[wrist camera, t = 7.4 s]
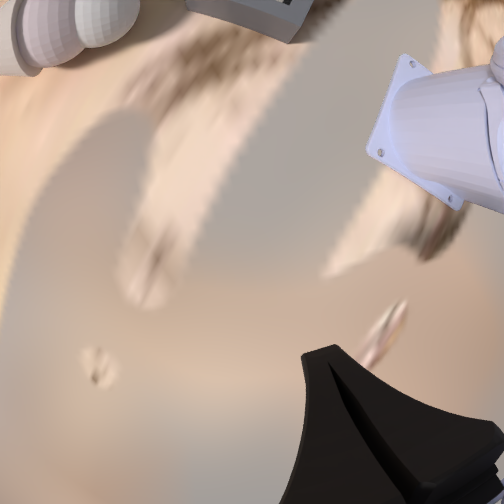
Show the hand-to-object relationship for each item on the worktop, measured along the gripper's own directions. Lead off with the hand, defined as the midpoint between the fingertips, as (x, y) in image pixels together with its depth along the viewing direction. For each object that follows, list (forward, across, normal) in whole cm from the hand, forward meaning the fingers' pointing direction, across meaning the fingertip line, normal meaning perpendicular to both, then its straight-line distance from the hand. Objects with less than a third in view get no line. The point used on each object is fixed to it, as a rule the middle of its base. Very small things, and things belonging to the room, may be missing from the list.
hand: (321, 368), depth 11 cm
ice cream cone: (+10, +11, -19) cm, 24 cm away
